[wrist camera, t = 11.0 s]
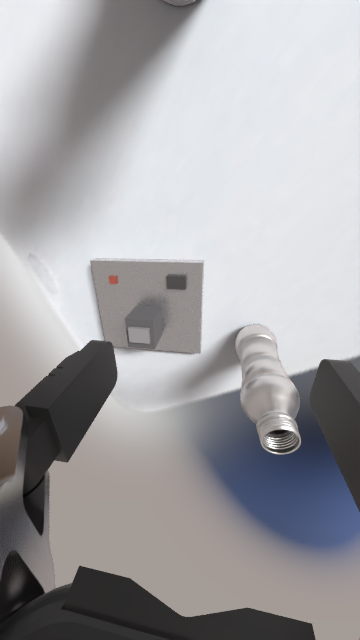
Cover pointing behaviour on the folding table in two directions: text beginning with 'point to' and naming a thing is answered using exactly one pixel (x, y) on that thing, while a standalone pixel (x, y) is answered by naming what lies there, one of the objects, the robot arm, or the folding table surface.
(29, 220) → the folding table surface
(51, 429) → the robot arm
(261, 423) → the plastic bottle
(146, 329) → the plug
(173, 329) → the socket plate
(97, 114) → the folding table surface
